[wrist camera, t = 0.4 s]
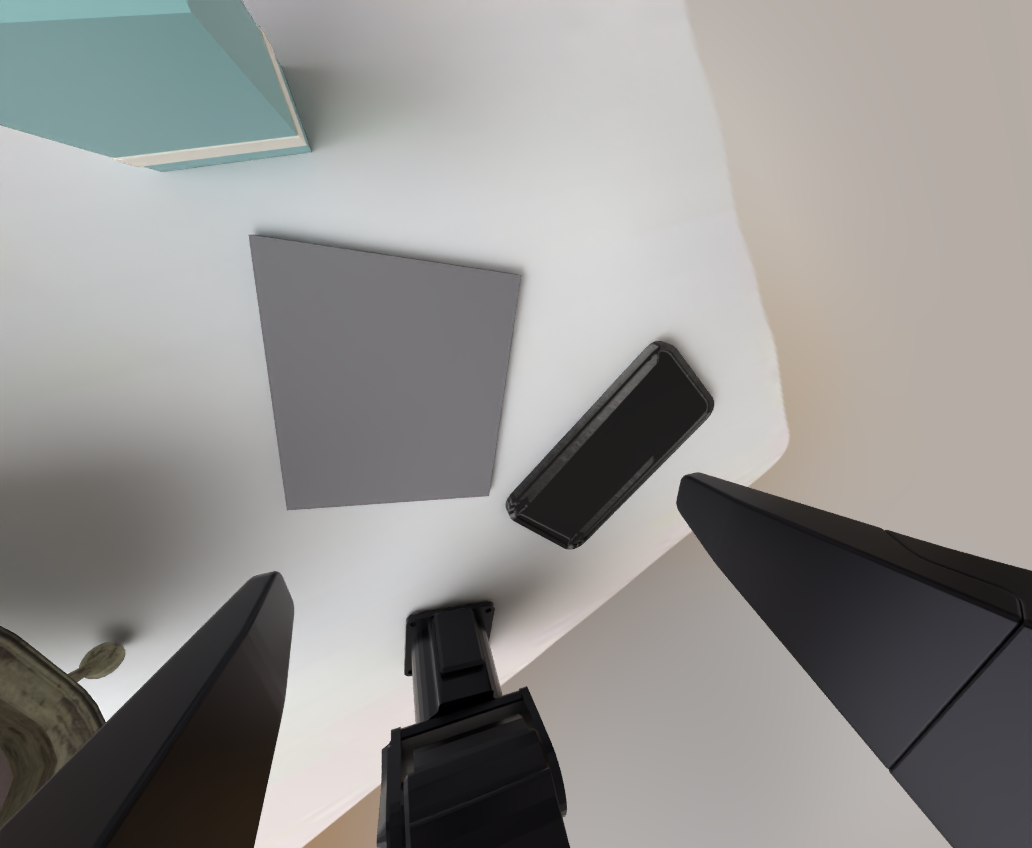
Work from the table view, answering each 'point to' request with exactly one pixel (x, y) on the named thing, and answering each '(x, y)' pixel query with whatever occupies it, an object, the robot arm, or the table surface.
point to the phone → (613, 448)
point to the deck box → (146, 81)
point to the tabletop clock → (43, 715)
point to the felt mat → (382, 372)
